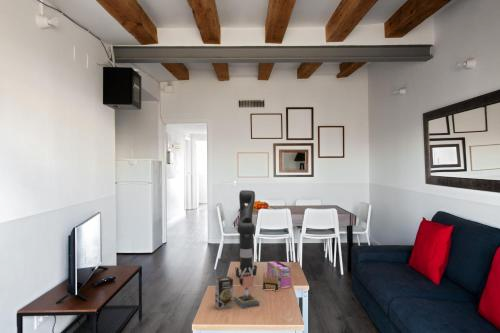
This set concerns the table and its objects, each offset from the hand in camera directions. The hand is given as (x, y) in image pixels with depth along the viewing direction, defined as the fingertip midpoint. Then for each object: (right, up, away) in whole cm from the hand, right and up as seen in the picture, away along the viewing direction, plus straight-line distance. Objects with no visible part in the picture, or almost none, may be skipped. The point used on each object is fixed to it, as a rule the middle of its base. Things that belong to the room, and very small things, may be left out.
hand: (246, 283), depth 183 cm
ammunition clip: (+16, -13, +21) cm, 30 cm away
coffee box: (-13, -11, -6) cm, 18 cm away
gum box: (+23, -14, +35) cm, 44 cm away
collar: (0, -1, 0) cm, 1 cm away
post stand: (0, -11, -1) cm, 12 cm away
